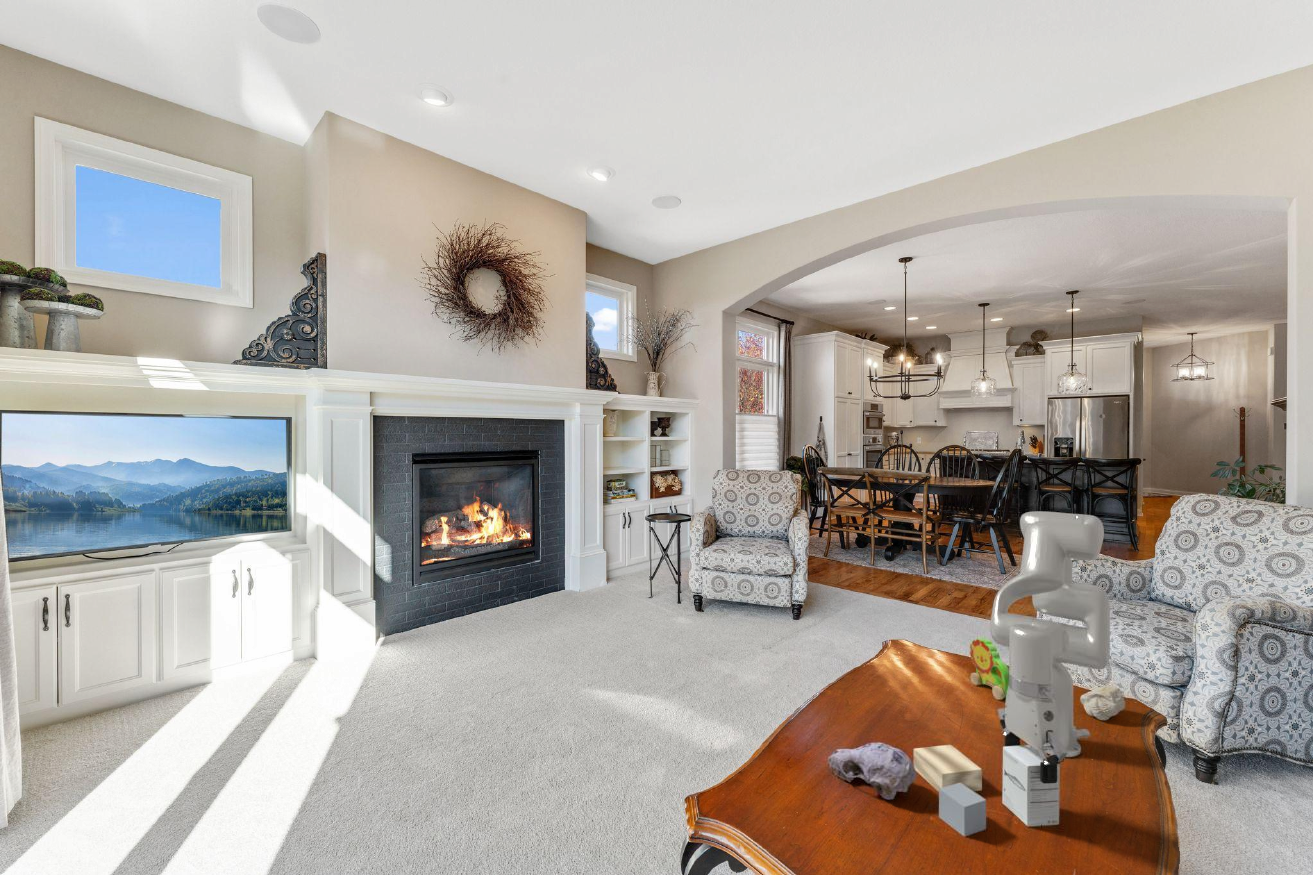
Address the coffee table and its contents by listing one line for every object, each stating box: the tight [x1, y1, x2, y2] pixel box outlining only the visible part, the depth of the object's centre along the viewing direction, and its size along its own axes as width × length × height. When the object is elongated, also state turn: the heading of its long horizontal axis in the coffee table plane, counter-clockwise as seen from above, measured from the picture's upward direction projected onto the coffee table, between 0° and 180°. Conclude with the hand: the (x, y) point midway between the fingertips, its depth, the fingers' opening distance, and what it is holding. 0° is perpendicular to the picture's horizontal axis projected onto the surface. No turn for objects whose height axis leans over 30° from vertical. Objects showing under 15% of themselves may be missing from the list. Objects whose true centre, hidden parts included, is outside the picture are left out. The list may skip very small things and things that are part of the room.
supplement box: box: [1001, 744, 1061, 827], centre depth 115 cm, size 7×7×13 cm
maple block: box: [913, 744, 983, 793], centre depth 127 cm, size 10×10×5 cm
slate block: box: [938, 783, 987, 838], centre depth 112 cm, size 6×6×6 cm
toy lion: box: [969, 637, 1009, 701], centre depth 172 cm, size 16×5×15 cm, turn 6°
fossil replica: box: [1079, 686, 1126, 721], centre depth 156 cm, size 12×8×10 cm
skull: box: [827, 742, 917, 801], centre depth 126 cm, size 19×12×10 cm, turn 38°
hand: (1029, 768), depth 115 cm, fingers open, 9 cm apart
